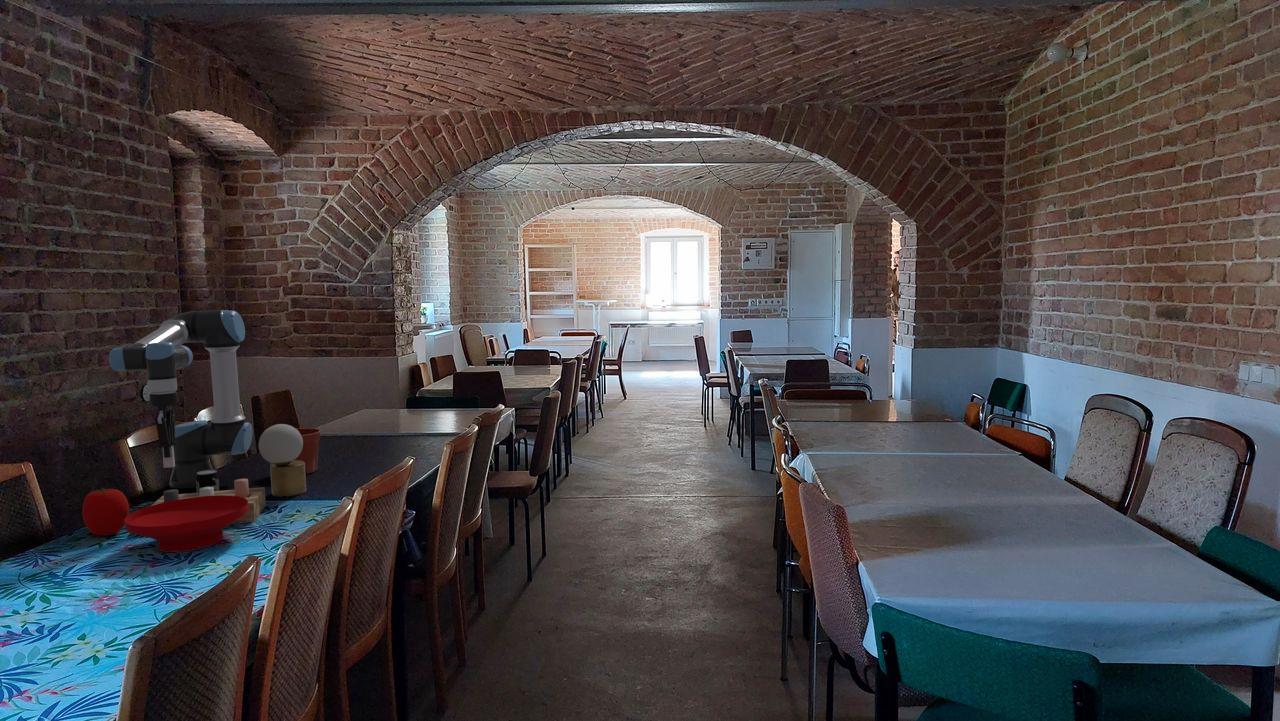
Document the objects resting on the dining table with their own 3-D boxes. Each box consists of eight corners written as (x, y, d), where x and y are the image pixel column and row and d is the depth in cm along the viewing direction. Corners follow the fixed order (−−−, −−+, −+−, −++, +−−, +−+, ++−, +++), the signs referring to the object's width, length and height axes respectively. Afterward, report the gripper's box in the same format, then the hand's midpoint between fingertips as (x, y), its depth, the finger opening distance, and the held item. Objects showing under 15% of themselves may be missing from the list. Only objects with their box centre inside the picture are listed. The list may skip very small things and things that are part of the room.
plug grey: (202, 514, 246) (201, 487, 246) (216, 513, 248) (215, 486, 247) (199, 518, 243) (197, 490, 242) (214, 517, 244) (212, 489, 243)
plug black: (167, 518, 244) (165, 490, 243) (181, 516, 245) (179, 489, 244) (163, 521, 240) (161, 493, 239) (178, 520, 241) (176, 492, 240)
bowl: (273, 531, 230) (271, 499, 229) (183, 567, 201) (181, 529, 200) (196, 523, 240) (194, 491, 239) (100, 555, 211) (97, 519, 210)
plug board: (164, 513, 250) (162, 495, 250) (265, 504, 259) (264, 487, 259) (144, 531, 231) (143, 512, 231) (254, 521, 240) (253, 502, 239)
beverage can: (210, 510, 253) (208, 474, 252) (193, 509, 255) (190, 473, 254) (224, 504, 260) (222, 469, 259) (208, 503, 261) (205, 469, 260)
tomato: (73, 537, 227) (69, 490, 226) (111, 526, 238) (107, 481, 237) (103, 541, 223) (99, 493, 222) (140, 529, 234) (137, 484, 232)
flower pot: (312, 476, 298) (310, 435, 296) (270, 477, 298) (267, 436, 296) (330, 466, 314) (327, 427, 313) (289, 467, 314) (287, 428, 313)
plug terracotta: (237, 506, 249) (235, 479, 248) (250, 505, 250) (249, 478, 250) (234, 510, 245) (232, 482, 245) (248, 508, 247) (246, 481, 246)
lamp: (284, 501, 263) (280, 428, 261) (252, 498, 268) (247, 427, 265) (316, 490, 277) (312, 421, 275) (285, 487, 282) (281, 419, 280)
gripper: (156, 390, 244) (162, 463, 246) (142, 395, 231) (149, 472, 234) (182, 388, 246) (188, 461, 248) (171, 394, 233) (177, 470, 236)
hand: (169, 466), depth 241 cm, fingers closed
